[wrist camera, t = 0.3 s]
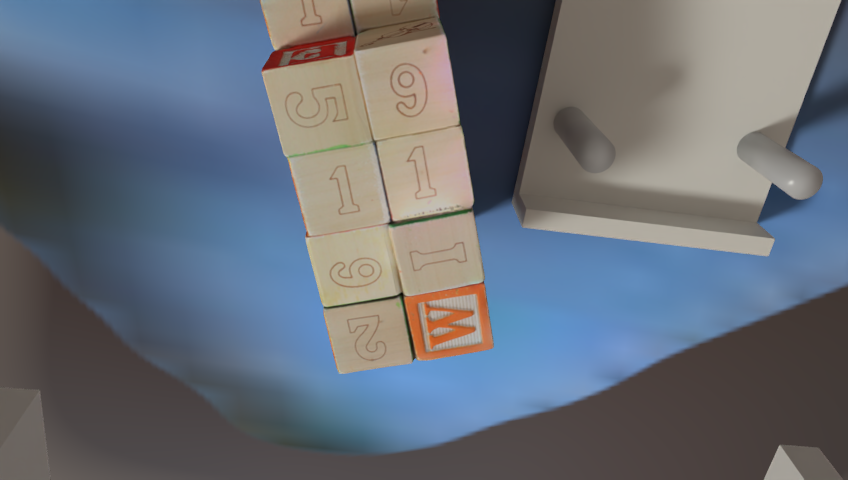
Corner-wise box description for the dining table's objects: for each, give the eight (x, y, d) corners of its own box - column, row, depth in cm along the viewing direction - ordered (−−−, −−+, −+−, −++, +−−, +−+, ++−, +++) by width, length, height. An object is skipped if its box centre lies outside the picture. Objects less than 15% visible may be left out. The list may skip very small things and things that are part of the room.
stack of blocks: (247, -215, 30) (167, -280, 19) (396, -241, 30) (405, -323, 19) (349, 243, 39) (336, 380, 28) (463, 224, 39) (496, 355, 28)
